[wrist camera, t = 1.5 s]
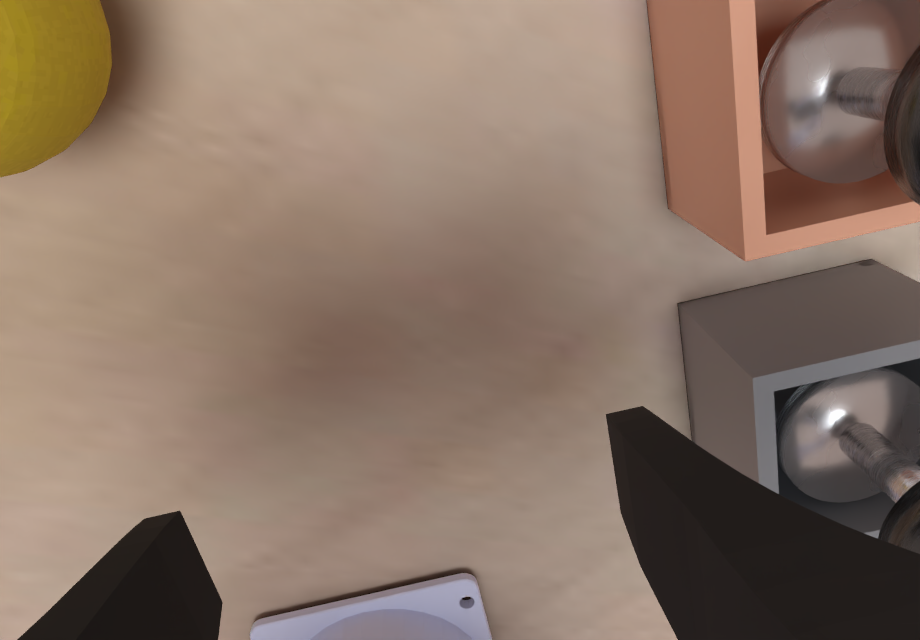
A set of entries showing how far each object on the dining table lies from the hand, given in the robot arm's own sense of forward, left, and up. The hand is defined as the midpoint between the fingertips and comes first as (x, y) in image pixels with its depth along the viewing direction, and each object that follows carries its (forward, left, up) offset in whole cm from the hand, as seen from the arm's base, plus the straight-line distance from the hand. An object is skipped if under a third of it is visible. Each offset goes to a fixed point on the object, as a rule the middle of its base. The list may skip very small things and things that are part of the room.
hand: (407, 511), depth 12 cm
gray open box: (-5, -11, -10) cm, 16 cm away
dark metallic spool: (+4, -11, -6) cm, 13 cm away
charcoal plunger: (-5, -11, -6) cm, 14 cm away
